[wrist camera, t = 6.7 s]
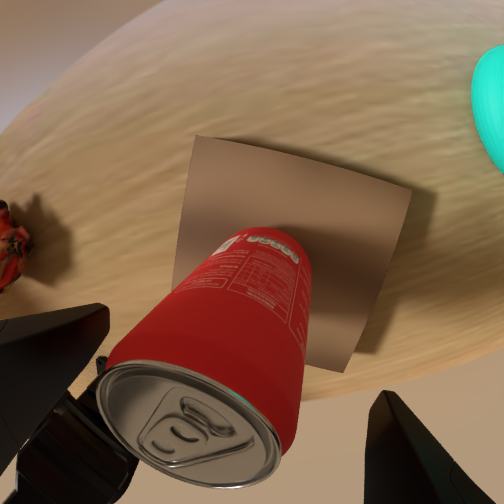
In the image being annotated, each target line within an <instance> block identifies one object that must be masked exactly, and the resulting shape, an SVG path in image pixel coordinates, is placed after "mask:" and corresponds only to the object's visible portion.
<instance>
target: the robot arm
mask: <svg viewBox="0 0 504 504" xmlns="http://www.w3.org/2000/svg"><path fill="white" fill-rule="evenodd" d="M109 330H110V311H109V308H108V307H107V306H105V305H103V304H101V303H93V304H88V305H83V306H77V307H72V308H67V309H61V310H56V311H51V312H45V313H40V314H34V315H28V316H23V317H17V318H11V319H5V320H0V476H1V475H2V473H3V472H4V471H5V469H6V468H7V466H8V465H9V464H10V462H11V461H12V459H13V458H14V457H15V456H16V454H17V453H18V454H17V462H16V479H15V489H14V490H13V491H12V492H11V493H10V495H9V496H8V497H7V498H6V499H5V501H4V502H3V503H2V504H114V503H115V502H117V501H118V500H119V499H120V498H121V496H122V495H123V494H124V493H125V491H126V490H127V488H128V486H129V484H130V482H131V479H132V477H133V475H134V472H135V470H136V468H137V465H138V463H139V460H140V459H139V458H137V457H136V456H135V455H134V454H132V453H131V452H130V451H129V450H128V449H127V448H125V447H124V446H123V445H122V444H121V443H120V442H119V440H118V439H117V438H116V437H115V436H114V435H113V433H112V432H111V431H110V429H109V428H108V426H107V425H106V423H105V421H104V420H103V418H102V415H101V413H100V411H99V408H98V404H97V399H96V389H97V384H98V381H99V379H100V377H101V376H102V374H103V373H104V372H105V369H106V363H107V359H105V358H103V357H101V356H99V357H98V358H97V359H96V366H97V374H98V376H97V377H96V378H95V379H94V380H93V381H92V382H91V383H90V384H89V385H88V387H87V389H86V390H85V391H84V392H83V393H82V394H81V395H80V396H79V397H78V398H77V399H75V398H74V397H73V396H72V395H71V393H70V392H69V391H68V390H67V389H68V387H69V386H70V385H71V384H72V383H73V381H74V380H75V379H76V378H77V377H78V375H79V374H80V373H81V372H82V371H83V369H84V368H85V367H86V366H87V364H88V363H89V361H90V360H91V358H92V357H93V355H94V354H95V352H96V351H97V349H98V348H99V346H100V345H101V343H102V342H103V340H104V339H105V337H106V336H107V335H108V333H109ZM27 439H29V440H28V441H27ZM26 441H27V443H26V444H25V445H24V443H25V442H26ZM23 445H24V446H23ZM22 446H23V447H22ZM21 447H22V448H21ZM20 448H21V449H20ZM364 504H496V503H495V502H494V501H493V500H492V499H491V498H490V497H489V496H488V495H486V494H485V492H483V491H482V490H481V489H480V488H479V487H478V486H477V485H476V484H475V483H474V482H473V481H472V480H471V479H470V478H469V476H468V475H467V474H466V473H465V472H464V471H463V470H462V469H461V467H460V466H459V465H458V464H457V463H456V462H455V461H454V459H453V458H452V457H451V456H450V455H449V453H448V452H447V451H446V450H445V449H444V448H443V447H442V445H441V444H440V443H439V442H438V441H437V440H436V438H435V437H434V436H433V435H432V434H431V433H430V431H429V430H428V429H427V428H426V427H425V426H424V425H423V423H422V422H421V421H420V420H419V419H418V418H417V417H416V415H414V413H413V412H412V411H411V410H410V409H409V407H408V406H407V405H406V404H405V403H404V402H403V401H402V399H401V398H400V397H399V396H398V395H397V394H396V393H395V392H393V391H387V390H383V391H381V393H380V394H379V396H378V397H377V399H376V400H375V402H374V403H373V405H372V407H371V409H370V411H369V419H368V429H367V438H366V448H365V479H364Z"/></svg>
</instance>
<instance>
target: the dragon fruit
mask: <svg viewBox="0 0 504 504" xmlns="http://www.w3.org/2000/svg"><path fill="white" fill-rule="evenodd" d="M9 214H10V211H9V210H8V205H7V203H6V202H5V201H4V200H0V294H4V293H5V292H7V291H8V290H9V288H10V287H11V285H12V284H14V282H15V281H16V280H17V279H18V278H19V277H20V276H21V271H22V269H23V266H24V264H25V262H26V259H29V257H30V255H31V254H32V252H33V248H34V245H33V246H31V247H29V246H28V244H27V242H28V241H29V238H30V235H29V234H28V233H27V232H28V231H26V230H25V227H23V226H22V225H17V227H18V228H15V229H14V228H13V227H14V226H13V225H14V220H13V219H12V217H11V216H10V215H9Z"/></svg>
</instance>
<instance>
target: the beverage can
mask: <svg viewBox="0 0 504 504" xmlns="http://www.w3.org/2000/svg"><path fill="white" fill-rule="evenodd" d="M311 284H312V270H311V265H310V262H309V259H308V256H307V254H306V253H305V251H304V249H303V248H302V247H301V246H300V244H299V243H298V242H297V241H296V240H294V239H293V238H292V237H291V236H289V235H288V234H286V233H284V232H282V231H280V230H277V229H273V228H269V227H252V228H247V229H244V230H241V231H239V232H237V233H235V234H234V235H232V236H231V237H230V238H229V239H228V240H226V241H225V242H224V243H223V244H222V245H221V246H220V247H219V248H218V249H217V250H216V251H215V252H213V253H212V254H211V255H210V256H209V257H208V258H207V259H206V260H205V261H204V262H203V263H202V264H201V265H199V266H198V267H197V268H196V269H195V270H194V271H193V272H192V273H191V274H190V275H189V276H188V277H187V278H186V279H185V280H183V281H182V282H181V283H180V284H179V285H178V286H177V287H176V288H175V289H174V290H173V291H172V292H171V293H170V294H169V295H168V296H167V297H165V298H164V299H163V300H162V301H161V302H160V303H159V304H158V305H157V306H156V307H155V308H154V309H153V310H152V311H151V312H150V313H149V314H148V315H147V316H146V317H145V318H144V319H143V320H141V321H140V322H139V323H138V324H137V325H136V326H135V327H134V328H133V329H132V330H131V331H130V332H129V333H128V334H127V335H126V336H125V337H124V338H123V339H122V340H121V341H120V342H119V343H118V344H117V345H116V346H115V347H114V348H113V350H112V351H111V353H110V355H109V357H108V360H107V363H106V369H105V372H104V373H103V374H102V376H101V377H100V379H99V381H98V384H97V389H96V399H97V404H98V408H99V411H100V413H101V415H102V418H103V420H104V421H105V423H106V425H107V426H108V428H109V429H110V431H111V432H112V433H113V435H114V436H115V437H116V438H117V439H118V440H119V442H120V443H121V444H122V445H123V446H124V447H125V448H127V449H128V450H129V451H130V452H131V453H132V454H134V455H135V456H136V457H137V458H139V459H140V460H142V461H143V462H144V463H146V464H148V465H149V466H151V467H152V468H154V469H156V470H158V471H160V472H162V473H164V474H166V475H168V476H170V477H173V478H175V479H178V480H180V481H184V482H186V483H190V484H193V485H197V486H202V487H207V488H212V489H236V488H244V487H248V486H252V485H255V484H258V483H260V482H262V481H264V480H266V479H267V478H268V477H270V476H271V475H272V474H273V473H274V472H275V470H276V469H277V468H278V466H279V464H280V460H281V457H282V456H283V455H284V454H285V453H286V452H287V451H288V449H289V448H290V446H291V445H292V443H293V441H294V438H295V434H296V430H297V423H298V415H299V408H300V400H301V392H302V383H303V374H304V365H305V356H306V345H307V335H308V323H309V311H310V298H311Z"/></svg>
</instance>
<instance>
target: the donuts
mask: <svg viewBox="0 0 504 504" xmlns="http://www.w3.org/2000/svg"><path fill="white" fill-rule="evenodd" d="M471 102H472V110H473V116H474V120H475V124H476V127H477V130H478V133H479V136H480V138H481V141H482V143H483V145H484V147H485V149H486V151H487V153H488V155H489V156H490V158H491V159H492V161H493V163H494V164H495V165H496V167H497V168H498V169H499V170H500V171H501V172H502V173H503V175H504V45H499V46H496V47H494V48H492V49H490V50H489V51H487V52H486V53H485V54H484V55H483V56H482V57H481V59H480V60H479V62H478V64H477V66H476V68H475V71H474V74H473V78H472V86H471Z"/></svg>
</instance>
